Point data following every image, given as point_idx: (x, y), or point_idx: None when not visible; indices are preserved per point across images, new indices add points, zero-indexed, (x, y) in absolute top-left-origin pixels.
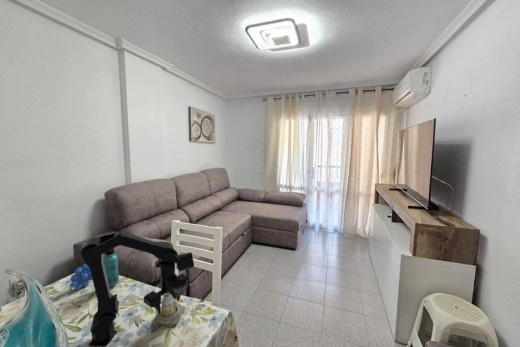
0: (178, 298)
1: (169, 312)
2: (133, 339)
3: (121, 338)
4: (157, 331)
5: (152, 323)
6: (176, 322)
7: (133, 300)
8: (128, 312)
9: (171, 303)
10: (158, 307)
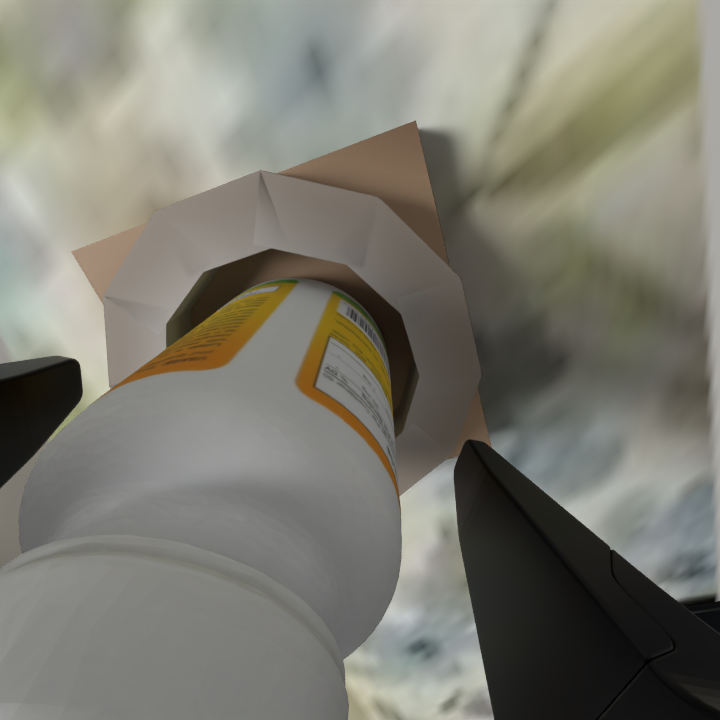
0: (23, 381)
1: (354, 331)
2: (677, 463)
3: (673, 551)
4: (543, 316)
5: (488, 437)
6: (387, 136)
7: None
8: (415, 665)
9: (281, 390)
10: (661, 605)
